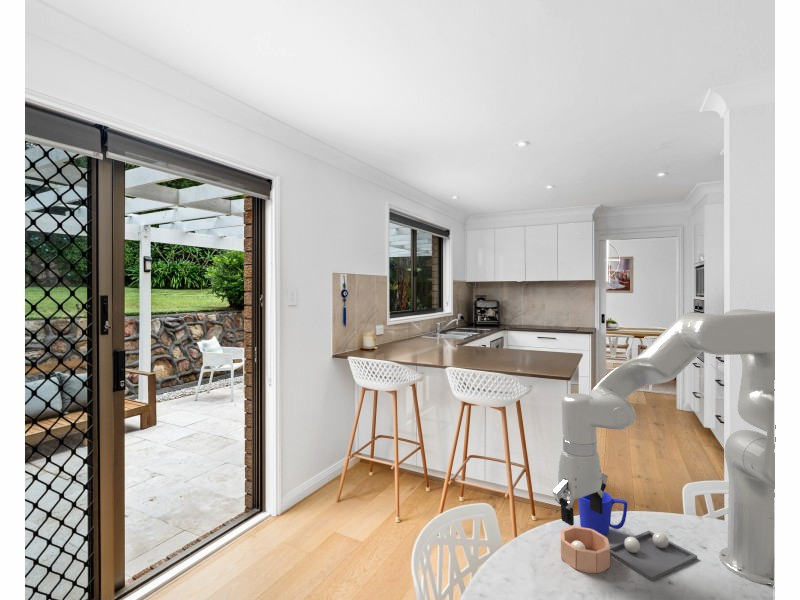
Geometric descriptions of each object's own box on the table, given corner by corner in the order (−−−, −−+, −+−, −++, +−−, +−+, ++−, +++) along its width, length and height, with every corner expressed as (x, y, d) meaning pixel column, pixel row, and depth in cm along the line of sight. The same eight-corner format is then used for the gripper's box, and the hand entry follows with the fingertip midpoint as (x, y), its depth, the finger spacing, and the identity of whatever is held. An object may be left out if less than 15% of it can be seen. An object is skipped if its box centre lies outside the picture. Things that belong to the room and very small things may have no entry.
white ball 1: (577, 549, 107) (577, 536, 107) (589, 557, 104) (589, 543, 104) (567, 554, 106) (567, 539, 105) (578, 562, 102) (578, 547, 102)
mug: (631, 544, 110) (632, 505, 110) (581, 539, 113) (581, 501, 112) (622, 526, 118) (622, 490, 118) (575, 522, 121) (575, 486, 120)
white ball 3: (658, 541, 111) (658, 528, 111) (671, 548, 108) (671, 535, 108) (649, 545, 109) (649, 531, 109) (663, 552, 106) (663, 538, 106)
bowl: (581, 542, 111) (582, 522, 111) (618, 565, 102) (619, 544, 102) (551, 553, 107) (551, 533, 107) (587, 579, 97) (587, 557, 97)
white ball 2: (630, 545, 109) (630, 532, 109) (643, 553, 106) (643, 539, 106) (620, 549, 108) (621, 535, 107) (634, 557, 104) (634, 543, 104)
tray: (648, 534, 114) (648, 530, 114) (697, 560, 104) (697, 555, 104) (604, 553, 107) (604, 548, 107) (651, 582, 96) (651, 577, 96)
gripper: (591, 435, 111) (594, 501, 112) (541, 449, 103) (543, 520, 104) (618, 444, 104) (620, 514, 105) (565, 459, 97) (568, 535, 97)
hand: (582, 517), depth 104 cm, fingers open, 9 cm apart
